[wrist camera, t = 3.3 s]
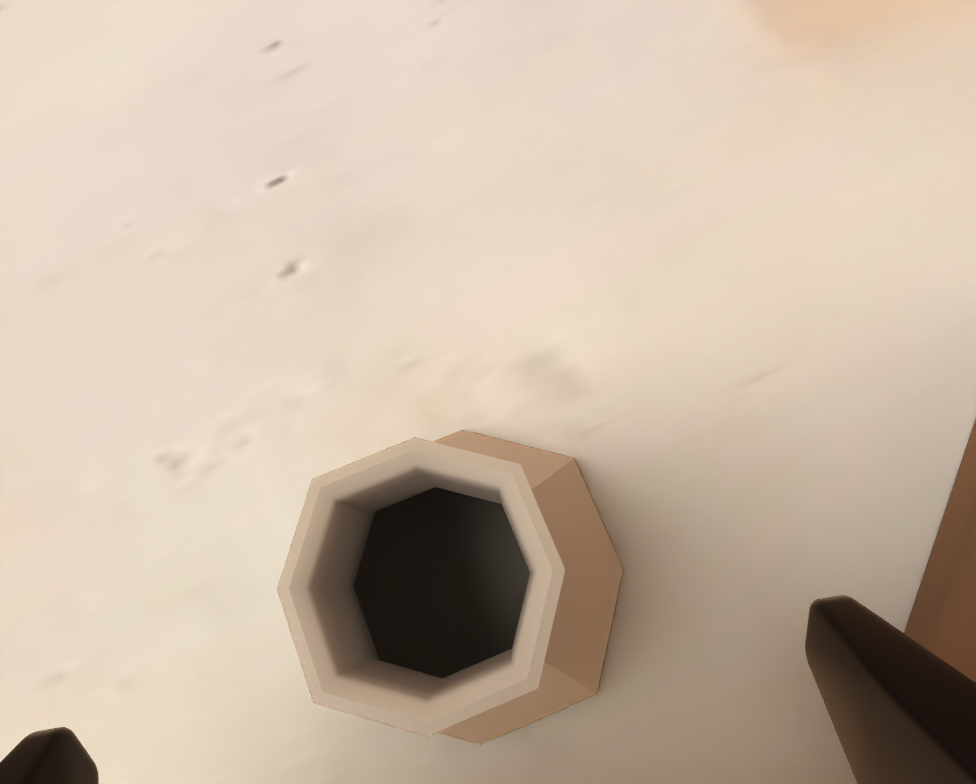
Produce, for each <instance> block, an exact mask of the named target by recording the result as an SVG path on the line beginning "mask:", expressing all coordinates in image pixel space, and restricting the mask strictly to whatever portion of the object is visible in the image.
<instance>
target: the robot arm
mask: <svg viewBox="0 0 976 784" xmlns="http://www.w3.org/2000/svg"><path fill="white" fill-rule="evenodd" d="M805 650H806V656H807V660H808V663H809V666H810V669H811V671H812V674H813V676H814V678H815V681H816V683H817V686H818V688H819V691H820V693H821V696H822V698H823V700H824V703H825V705H826V708H827V710H828V713H829V715H830V718H831V720H832V722H833V725H834V727H835V730H836V732H837V735H838V737H839V740H840V742H841V744H842V747H843V749H844V752H845V754H846V757H847V759H848V762H849V764H850V767H851V769H852V771H853V774H854V776H855V778H856V780H857V783H858V784H976V683H975V682H974V681H972V680H971V679H970V678H968V677H967V676H965V675H964V674H962V673H961V672H959V671H958V670H956V669H955V668H953V667H952V666H951V665H949V664H948V663H946V662H945V661H943V660H942V659H940V658H939V657H937V656H936V655H935V654H933V653H932V652H930V651H929V650H927V649H926V648H924V647H923V646H921V645H920V644H918V643H917V642H916V641H914V640H913V639H911V638H910V637H908V636H907V635H905V634H904V633H902V632H901V631H899V630H898V629H897V628H895V627H894V626H892V625H891V624H889V623H888V622H886V621H885V620H883V619H882V618H881V617H879V616H878V615H876V614H875V613H873V612H872V611H870V610H869V609H867V608H866V607H864V606H863V605H862V604H860V603H859V602H857V601H856V600H854V599H852V598H850V597H848V596H834V597H828V598H822V599H817V600H814V601H813V603H812V604H811V606H810V610H809V618H808V626H807V634H806V642H805ZM98 780H99V777H98V771H97V767H96V765H95V763H94V761H93V760H92V758H91V757H90V756H89V754H88V753H87V751H86V750H85V748H84V747H83V746H82V744H81V743H80V741H79V740H78V738H77V737H76V736H75V734H74V733H73V732H72V731H71V730H70V729H68V728H65V727H60V728H54V729H48V730H42V731H37V732H34V733H31V734H29V735H28V736H27V737H25V738H24V739H23V740H22V741H21V742H20V743H19V744H18V745H17V746H16V747H15V748H14V749H13V750H12V751H11V752H10V753H9V754H8V755H7V756H6V757H5V758H4V759H3V760H2V761H1V762H0V784H98Z"/></svg>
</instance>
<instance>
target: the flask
mask: <svg viewBox="0 0 976 784" xmlns="http://www.w3.org/2000/svg"><path fill="white" fill-rule="evenodd" d="M622 572H623V567H622V565H621V563H620V560H619V558H618V556H617V554H616V551H615V549H614V547H613V545H612V542H611V540H610V538H609V536H608V533H607V531H606V529H605V527H604V524H603V522H602V520H601V518H600V515H599V513H598V511H597V509H596V506H595V504H594V502H593V500H592V497H591V495H590V493H589V491H588V488H587V486H586V484H585V482H584V479H583V477H582V475H581V473H580V470H579V468H578V466H577V464H576V461H575V459H574V458H572V457H568V456H564V455H560V454H556V453H552V452H548V451H544V450H540V449H536V448H532V447H528V446H524V445H520V444H516V443H512V442H508V441H504V440H500V439H496V438H492V437H488V436H484V435H480V434H476V433H472V432H468V431H464V430H461V431H458V432H456V433H453V434H451V435H448V436H446V437H443V438H441V439H439V440H436V441H434V442H431V441H427V440H423V439H419V438H415V437H414V438H412V439H410V440H407V441H405V442H402V443H400V444H397V445H395V446H392V447H390V448H387V449H385V450H382V451H380V452H378V453H375V454H373V455H370V456H368V457H365V458H363V459H360V460H358V461H355V462H353V463H350V464H348V465H346V466H343V467H341V468H338V469H336V470H333V471H331V472H328V473H326V474H323V475H321V476H319V477H316V478H314V479H312V481H311V484H310V487H309V490H308V493H307V496H306V500H305V503H304V506H303V509H302V512H301V515H300V519H299V522H298V525H297V528H296V531H295V534H294V537H293V541H292V544H291V547H290V550H289V553H288V556H287V559H286V563H285V566H284V569H283V572H282V575H281V578H280V582H279V585H278V588H277V591H278V594H279V597H280V600H281V603H282V607H283V610H284V613H285V616H286V619H287V622H288V625H289V628H290V631H291V634H292V638H293V641H294V644H295V647H296V650H297V653H298V656H299V659H300V662H301V665H302V668H303V672H304V675H305V678H306V681H307V684H308V687H309V690H310V693H311V696H312V699H313V703H315V704H319V705H322V706H326V707H329V708H332V709H336V710H339V711H343V712H346V713H350V714H353V715H356V716H360V717H363V718H367V719H370V720H373V721H377V722H380V723H384V724H387V725H391V726H394V727H397V728H401V729H404V730H408V731H411V732H415V733H418V734H421V735H425V736H429V735H431V734H434V733H436V732H439V733H442V734H446V735H449V736H453V737H456V738H459V739H463V740H466V741H470V742H473V743H477V744H480V745H481V744H483V743H485V742H488V741H490V740H492V739H495V738H497V737H499V736H501V735H504V734H506V733H508V732H511V731H513V730H515V729H517V728H520V727H522V726H524V725H527V724H529V723H531V722H533V721H536V720H538V719H540V718H543V717H545V716H547V715H549V714H552V713H554V712H556V711H559V710H561V709H563V708H565V707H568V706H570V705H572V704H575V703H577V702H579V701H581V700H584V699H586V698H588V697H591V696H593V695H595V694H597V690H598V686H599V681H600V676H601V671H602V667H603V662H604V657H605V653H606V648H607V643H608V638H609V634H610V629H611V624H612V619H613V615H614V610H615V605H616V600H617V596H618V591H619V586H620V582H621V577H622Z"/></svg>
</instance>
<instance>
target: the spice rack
mask: <svg viewBox="0 0 976 784" xmlns="http://www.w3.org/2000/svg"><path fill="white" fill-rule="evenodd" d="M904 634H905V635H907V636H908V637H910V638H911V639H913V640H914V641H916V642H917V643H918V644H920V645H921V646H923V647H924V648H926V649H927V650H929V651H930V652H932V653H933V654H935V655H936V656H937V657H939V658H940V659H942V660H943V661H945V662H946V663H948V664H949V665H951V666H952V667H953V668H955V669H956V670H958V671H959V672H961V673H962V674H964V675H965V676H967V677H968V678H970V679H971V680H972V681H974V682H975V683H976V421H975V424H974V427H973V430H972V433H971V436H970V439H969V442H968V445H967V448H966V451H965V454H964V457H963V460H962V463H961V466H960V469H959V472H958V475H957V478H956V481H955V484H954V487H953V490H952V493H951V496H950V499H949V502H948V505H947V508H946V511H945V514H944V517H943V520H942V523H941V526H940V529H939V532H938V535H937V538H936V541H935V544H934V547H933V550H932V553H931V556H930V559H929V562H928V565H927V567H926V570H925V573H924V576H923V579H922V582H921V585H920V588H919V591H918V594H917V597H916V600H915V603H914V606H913V609H912V612H911V615H910V618H909V621H908V624H907V627H906V630H905V633H904Z"/></svg>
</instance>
